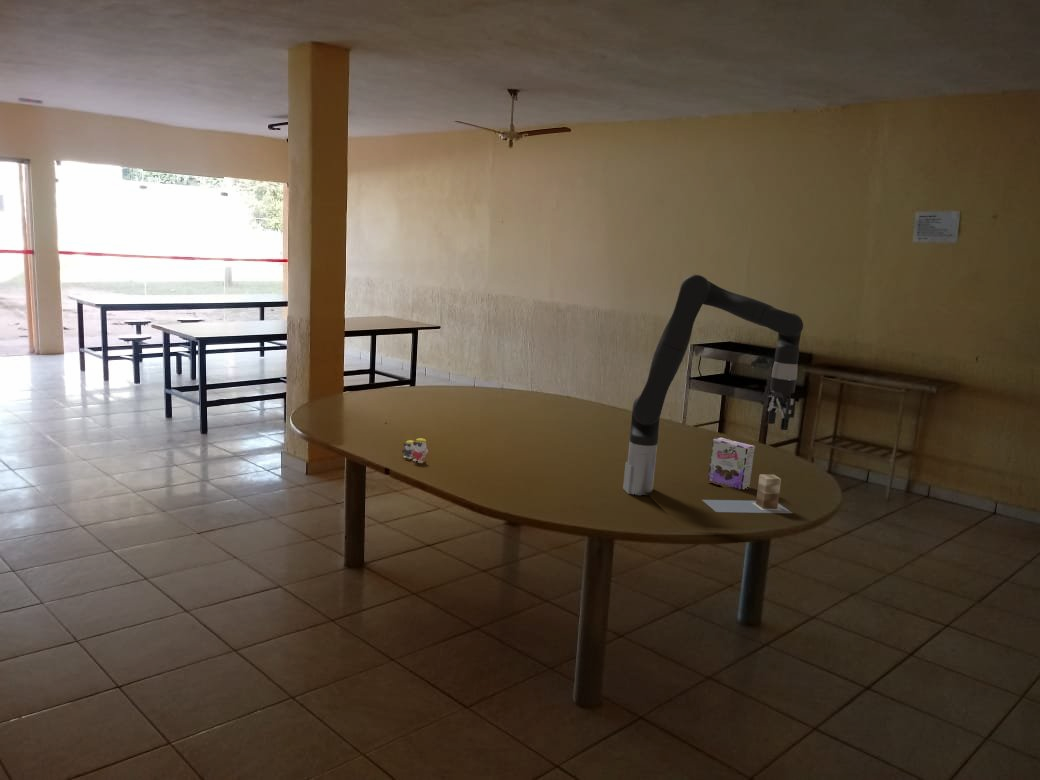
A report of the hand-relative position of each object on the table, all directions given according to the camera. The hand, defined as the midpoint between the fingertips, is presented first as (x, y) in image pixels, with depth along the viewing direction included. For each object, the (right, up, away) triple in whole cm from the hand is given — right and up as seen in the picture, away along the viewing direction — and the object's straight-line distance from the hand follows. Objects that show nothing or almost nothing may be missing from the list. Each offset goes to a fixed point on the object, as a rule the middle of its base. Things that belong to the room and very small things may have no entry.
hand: (777, 426), depth 252 cm
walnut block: (-2, -26, +5) cm, 27 cm away
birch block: (-2, -21, +4) cm, 22 cm away
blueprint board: (-9, -27, +4) cm, 29 cm away
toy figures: (-120, -14, +35) cm, 126 cm away
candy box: (-8, -23, +29) cm, 38 cm away
